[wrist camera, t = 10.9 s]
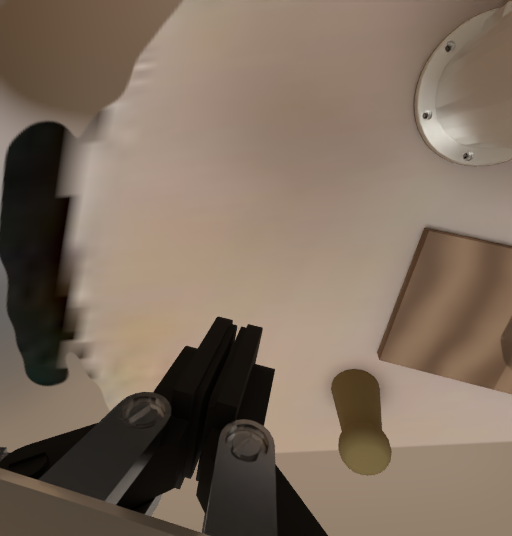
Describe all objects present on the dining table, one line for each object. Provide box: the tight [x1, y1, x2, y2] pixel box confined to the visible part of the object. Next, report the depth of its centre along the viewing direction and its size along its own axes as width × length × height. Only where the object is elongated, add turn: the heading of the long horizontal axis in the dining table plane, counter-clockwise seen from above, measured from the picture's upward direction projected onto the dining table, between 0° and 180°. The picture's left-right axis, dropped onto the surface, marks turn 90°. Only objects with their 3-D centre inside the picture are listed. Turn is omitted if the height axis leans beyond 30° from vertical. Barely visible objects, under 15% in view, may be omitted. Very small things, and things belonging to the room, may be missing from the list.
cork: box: [331, 369, 391, 475], centre depth 38 cm, size 6×6×11 cm
